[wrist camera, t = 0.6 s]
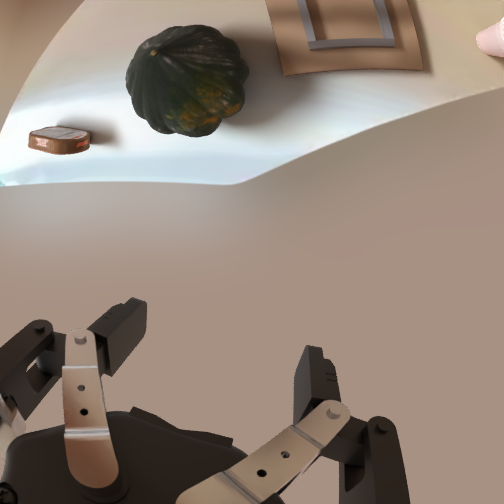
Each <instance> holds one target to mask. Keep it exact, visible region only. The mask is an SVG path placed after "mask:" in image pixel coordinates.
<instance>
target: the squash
mask: <svg viewBox="0 0 504 504" xmlns="http://www.w3.org/2000/svg"><path fill="white" fill-rule="evenodd" d="M248 74H249V67H248V65H247V64H246V63H245V62H244V60H243V59H241V58H240V52H239V48H238V46H237V44H236V43H235V42H234V41H232V40H231V39H229V38H226V37H224V36H223V35H222V34H221V33H220V32H219V31H218V30H217V29H215V28H213V27H210V26H205V25H189V26H184V27H182V26H174V27H170V28H168V29H166V30H164V31H163V32H161V33H159V34H158V35H156V36H153V37H151V38H149V39H147V40H146V41H145V42H143V43H142V44H141V45H140V46H139V47H138V49H137V51H136V53H135V55H134V58H133V59H132V60H131V62H130V64H129V67H128V69H127V73H126V88H127V90H128V93H129V94H130V96H131V99H132V104H133V107H134V110H135V112H136V114H137V115H138V116H139V117H141V118H143V119H145V120H147V122H148V123H149V125H150V126H151V127H152V128H153V129H154V130H156V131H158V132H160V133H163V134H173V133H178V134H182V135H186V136H189V137H202V136H208V135H210V134H212V133H213V132H214V131H215V130H216V129H217V128H218V126H219V125H220V123H221V120H222V119H223V118H227V117H230V116H232V115H234V114H235V113H237V112H239V111H240V110H241V108H242V106H243V104H244V101H245V93H244V88H243V83H244V82H245V81H246V79H247V77H248Z"/></svg>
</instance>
